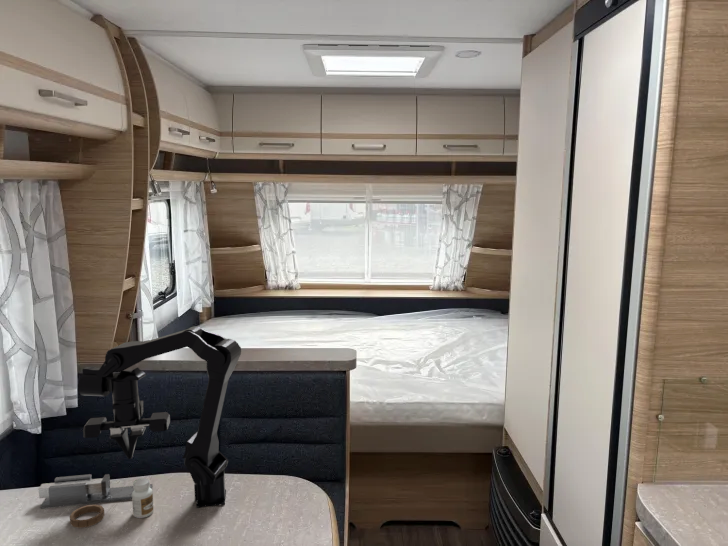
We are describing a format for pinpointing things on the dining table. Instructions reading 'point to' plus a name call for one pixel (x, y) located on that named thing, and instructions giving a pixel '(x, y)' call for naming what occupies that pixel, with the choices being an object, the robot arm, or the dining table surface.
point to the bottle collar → (87, 522)
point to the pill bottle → (142, 498)
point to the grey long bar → (92, 484)
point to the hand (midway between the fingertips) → (130, 458)
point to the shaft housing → (82, 493)
